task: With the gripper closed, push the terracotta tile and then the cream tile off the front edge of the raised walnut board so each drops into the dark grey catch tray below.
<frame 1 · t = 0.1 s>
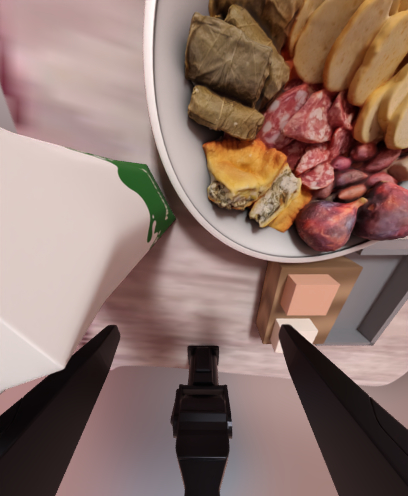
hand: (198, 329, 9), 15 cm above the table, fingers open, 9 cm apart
bowl: (304, 115, 16), on the table
terracotta tile: (302, 289, 21), point 4 cm above the table, touching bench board
catch tray: (351, 292, 26), on the table
cream tile: (288, 329, 24), point 4 cm above the table, touching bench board
milk carton: (139, 205, 20), on the table, touching gripper
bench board: (291, 292, 26), on the table
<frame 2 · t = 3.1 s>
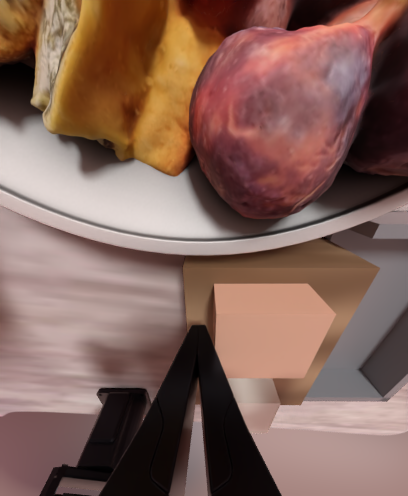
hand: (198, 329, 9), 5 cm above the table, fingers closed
terracotta tile: (254, 316, 9), point 4 cm above the table, touching gripper
catch tray: (351, 311, 15), on the table
cream tile: (233, 385, 13), point 4 cm above the table, touching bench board
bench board: (245, 311, 15), on the table
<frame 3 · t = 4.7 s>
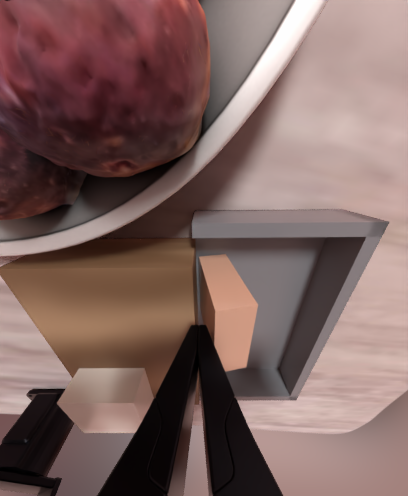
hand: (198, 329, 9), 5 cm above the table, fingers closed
terracotta tile: (205, 308, 10), point 3 cm above the table, tilted 100°, touching catch tray
catch tray: (251, 311, 15), on the table
cream tile: (119, 385, 13), point 4 cm above the table, touching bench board
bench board: (145, 311, 15), on the table
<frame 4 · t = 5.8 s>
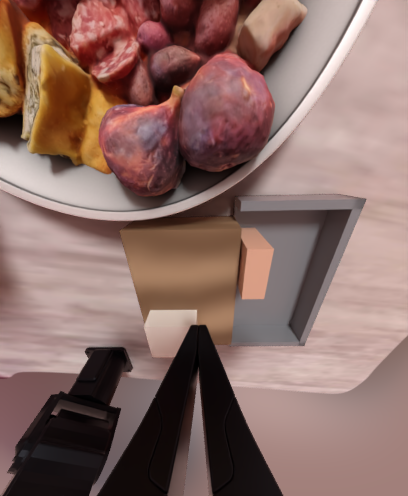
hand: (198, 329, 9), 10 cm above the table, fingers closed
terracotta tile: (238, 260, 15), point 3 cm above the table, tilted 90°, touching catch tray
catch tray: (269, 274, 19), on the table
cream tile: (175, 325, 18), point 4 cm above the table, touching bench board
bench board: (189, 275, 20), on the table
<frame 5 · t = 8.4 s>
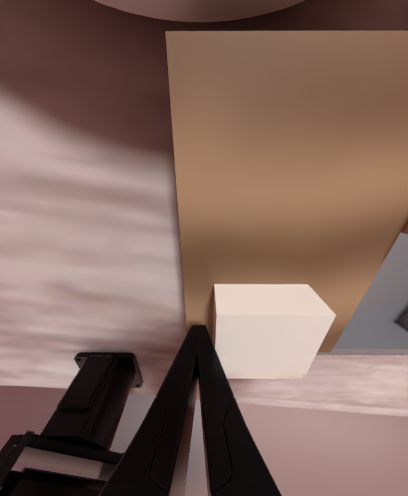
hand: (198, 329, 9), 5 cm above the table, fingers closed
catch tray: (396, 232, 11), on the table
cream tile: (254, 317, 9), point 4 cm above the table, touching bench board, gripper
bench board: (257, 232, 11), on the table
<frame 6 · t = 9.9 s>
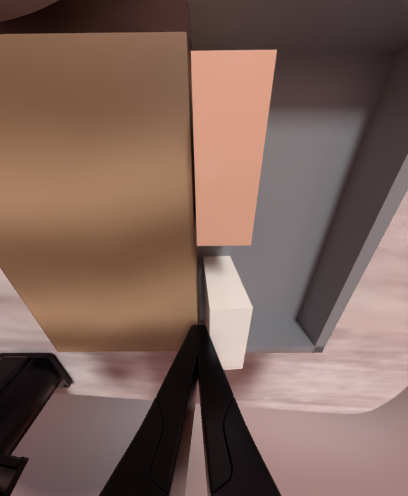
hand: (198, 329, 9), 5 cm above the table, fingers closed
terracotta tile: (197, 171, 7), point 3 cm above the table, tilted 90°, touching catch tray
catch tray: (266, 230, 11), on the table
cream tile: (205, 307, 10), point 3 cm above the table, tilted 94°, touching catch tray, gripper
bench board: (129, 231, 11), on the table
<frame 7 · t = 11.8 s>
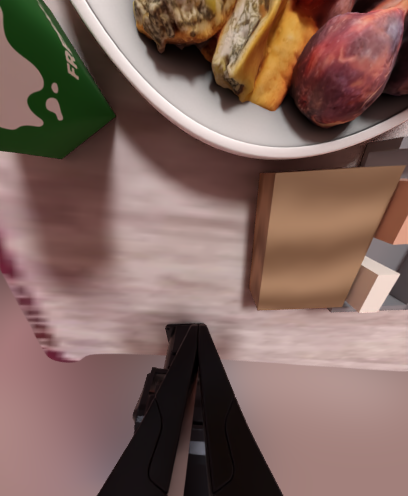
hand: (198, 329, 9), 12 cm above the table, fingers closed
terracotta tile: (375, 209, 15), point 3 cm above the table, tilted 90°, touching catch tray
catch tray: (378, 234, 19), on the table
cream tile: (347, 280, 18), point 3 cm above the table, tilted 90°, touching catch tray
milk carton: (60, 97, 14), on the table
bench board: (294, 238, 19), on the table
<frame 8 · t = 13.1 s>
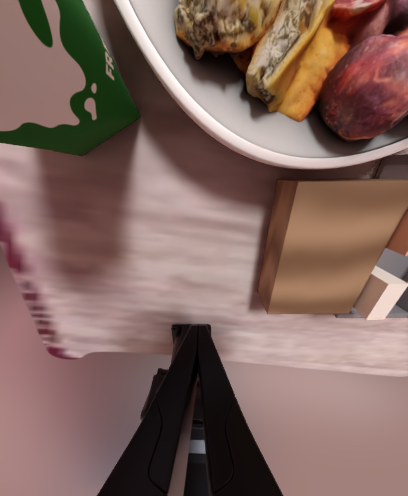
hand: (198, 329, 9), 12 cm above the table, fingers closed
terracotta tile: (389, 220, 15), point 3 cm above the table, tilted 90°, touching catch tray
catch tray: (386, 244, 19), on the table
cream tile: (355, 287, 19), point 3 cm above the table, tilted 90°, touching catch tray
milk carton: (85, 94, 14), on the table
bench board: (305, 244, 19), on the table
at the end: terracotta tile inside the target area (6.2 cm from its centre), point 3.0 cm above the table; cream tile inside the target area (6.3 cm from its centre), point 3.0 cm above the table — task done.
